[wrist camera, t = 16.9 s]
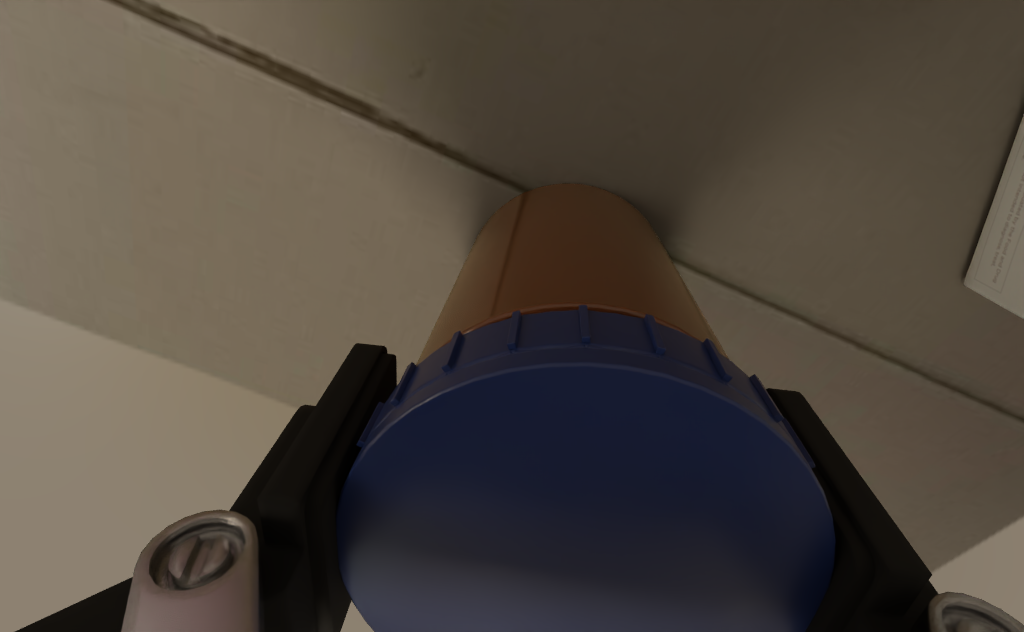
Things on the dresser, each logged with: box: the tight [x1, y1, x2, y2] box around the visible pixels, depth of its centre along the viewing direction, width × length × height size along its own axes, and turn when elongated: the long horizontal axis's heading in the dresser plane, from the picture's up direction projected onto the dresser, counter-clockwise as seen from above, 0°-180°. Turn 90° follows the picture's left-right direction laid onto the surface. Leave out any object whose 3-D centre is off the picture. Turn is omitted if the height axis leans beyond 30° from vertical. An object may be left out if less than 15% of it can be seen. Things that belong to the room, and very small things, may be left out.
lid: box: [336, 305, 836, 632], centre depth 8 cm, size 7×7×2 cm
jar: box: [416, 183, 729, 366], centre depth 13 cm, size 6×6×10 cm
